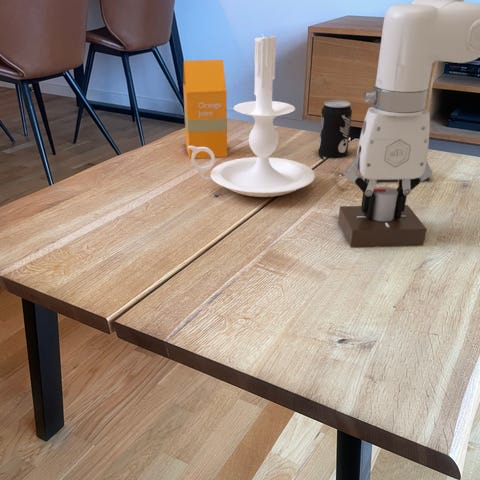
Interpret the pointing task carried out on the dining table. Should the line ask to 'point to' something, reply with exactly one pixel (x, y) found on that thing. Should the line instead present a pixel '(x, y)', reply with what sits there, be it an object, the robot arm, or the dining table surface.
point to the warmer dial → (384, 203)
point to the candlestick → (260, 140)
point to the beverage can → (335, 129)
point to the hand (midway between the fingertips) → (381, 214)
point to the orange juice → (205, 107)
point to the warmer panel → (381, 229)
